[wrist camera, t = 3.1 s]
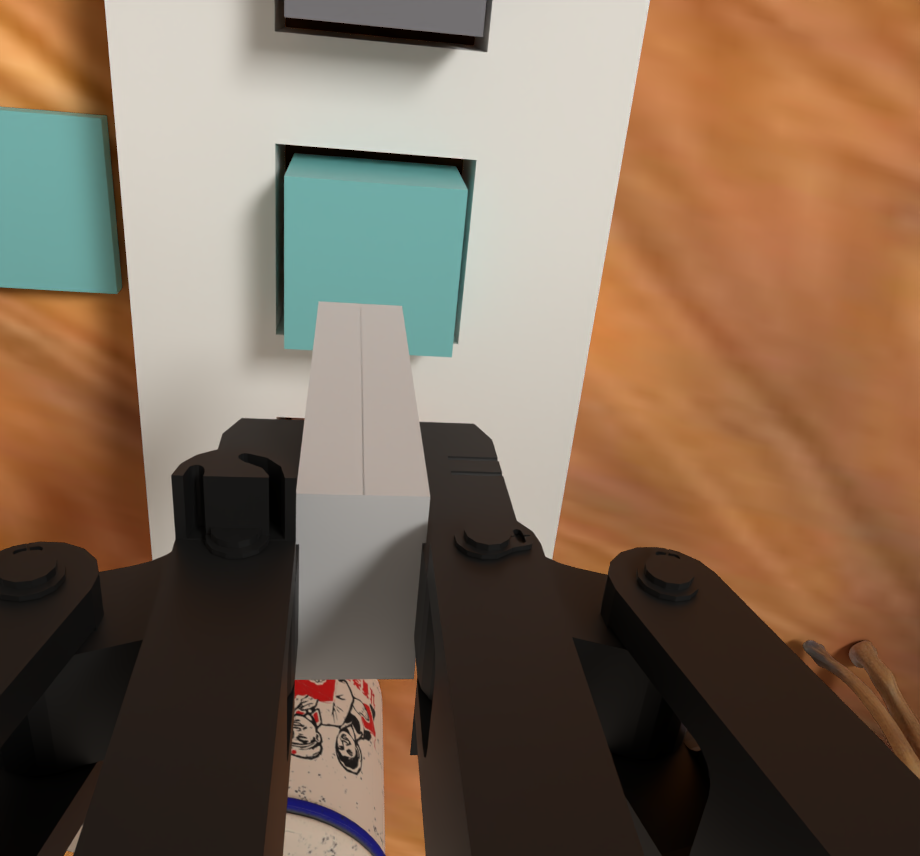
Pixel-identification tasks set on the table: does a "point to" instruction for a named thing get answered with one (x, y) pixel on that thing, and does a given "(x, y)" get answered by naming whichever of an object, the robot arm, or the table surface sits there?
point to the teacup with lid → (334, 771)
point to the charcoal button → (396, 14)
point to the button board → (378, 130)
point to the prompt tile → (57, 202)
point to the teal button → (373, 244)
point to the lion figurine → (900, 726)
